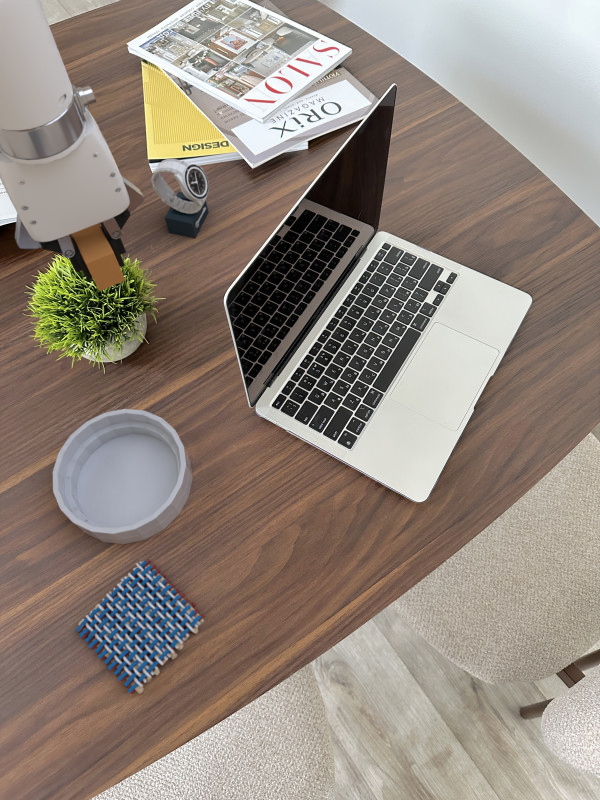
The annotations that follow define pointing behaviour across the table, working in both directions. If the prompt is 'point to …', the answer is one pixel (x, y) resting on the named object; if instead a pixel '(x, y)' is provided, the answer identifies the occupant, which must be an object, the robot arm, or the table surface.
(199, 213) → the watch
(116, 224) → the robot arm
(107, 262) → the brown rectangular block
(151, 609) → the woven mat
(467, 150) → the table surface
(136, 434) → the gray bowl
